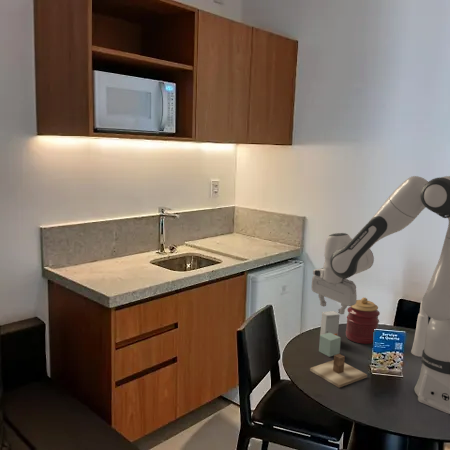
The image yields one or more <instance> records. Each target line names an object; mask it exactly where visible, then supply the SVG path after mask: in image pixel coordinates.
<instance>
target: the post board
mask: <svg viewBox="0 0 450 450" xmlns="http://www.w3.org/2000/svg"><path fill="white" fill-rule="evenodd" d="M345 361H346V357H345V355H343V354H341V353H340V354H337V355H334V356H333V359H332V360H329V361H326V362H324V363H321V364H318V365H315V366H312V367H309V371H310V372H312V373H313V374H315V375H317V376H318V377H320V378H321V379H323V380H325V381H326V382H328V383H330V384H332V385H334V386H335V387H337V388H338V389H339V388H342V387H344V386H345V387H346V386H347V385H350V384H353V383H355V382H358V381H361V380H363V379H366V378H368V374H367V373H365V372H363V371H362V370H359V369H358V368H355V367H354V366H352V365H350V364H348V363H346V362H345Z"/></svg>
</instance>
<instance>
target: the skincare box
mask: <svg viewBox="0 0 450 450" xmlns="http://www.w3.org/2000/svg"><path fill="white" fill-rule="evenodd" d="M340 317H341V314H339V313H338V311H336V310H334V311H333V310H331V311H322V312H321V321H320V322H321V323H320V332H319V333H320V334H319V336H320V335H323V334H327V333H332V334H334V335H336V336H339V324H340Z"/></svg>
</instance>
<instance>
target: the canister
mask: <svg viewBox="0 0 450 450" xmlns="http://www.w3.org/2000/svg"><path fill="white" fill-rule="evenodd" d="M378 309H379V306H378V305H376V303H374V302H373V301H372V300H371V301H370V300H368V298H366V297H362V298H361V299H357V300H356V304H355V305H353V306H348V307H347V308H346V310H347V312H348V314H347V316H346V327H345V328H346V329H345V336H346V338H347V339H348V340H349V341H351V342H354V343H358V344H365V345H371V344H373V343H372V342H373V332H374V329H376V328H378V329H379V323H380V319H379V316H380V314H381V311H379V310H378Z"/></svg>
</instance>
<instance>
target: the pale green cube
mask: <svg viewBox="0 0 450 450" xmlns="http://www.w3.org/2000/svg"><path fill="white" fill-rule="evenodd" d="M341 338H342V337H340V336H339V335H338V336H336V335H334V334H332V333H327V334H323V335H320V334H319V344H318V345H319V347H318V353H321V354H323V355H325V356H327V357H329V358H330V357H334V355H337V354H341V353H340V352H341V341H342V339H341Z"/></svg>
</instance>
